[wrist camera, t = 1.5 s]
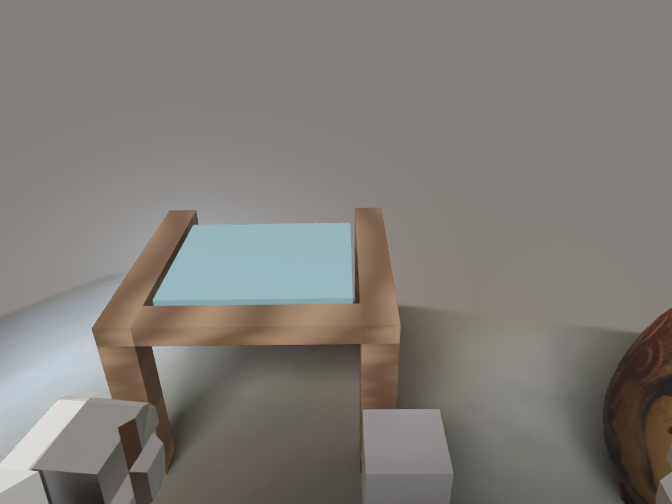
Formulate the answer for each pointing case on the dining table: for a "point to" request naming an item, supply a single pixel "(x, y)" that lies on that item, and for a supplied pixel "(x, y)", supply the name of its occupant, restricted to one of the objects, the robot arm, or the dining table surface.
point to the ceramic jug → (642, 413)
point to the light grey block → (405, 457)
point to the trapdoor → (261, 266)
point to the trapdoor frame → (248, 321)
